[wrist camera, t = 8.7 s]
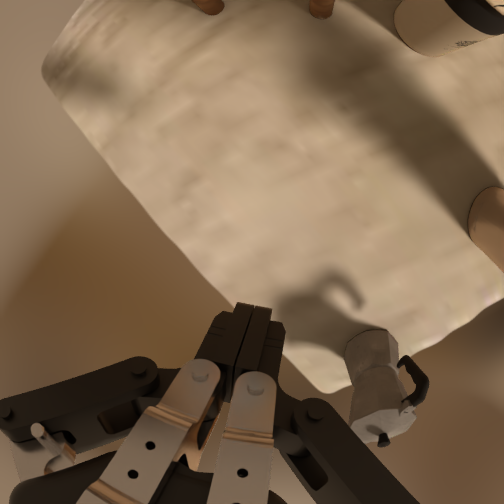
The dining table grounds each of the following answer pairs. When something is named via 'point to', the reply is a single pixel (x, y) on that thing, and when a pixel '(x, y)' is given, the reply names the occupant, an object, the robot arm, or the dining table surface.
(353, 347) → the coffeepot
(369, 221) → the dining table surface
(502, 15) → the travel mug
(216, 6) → the post outer
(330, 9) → the post inner
